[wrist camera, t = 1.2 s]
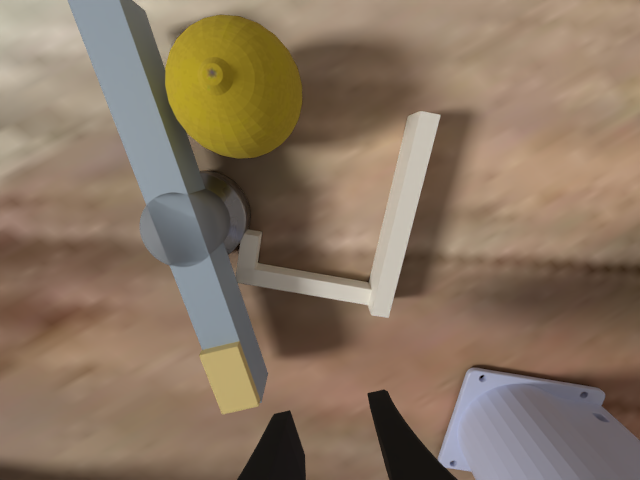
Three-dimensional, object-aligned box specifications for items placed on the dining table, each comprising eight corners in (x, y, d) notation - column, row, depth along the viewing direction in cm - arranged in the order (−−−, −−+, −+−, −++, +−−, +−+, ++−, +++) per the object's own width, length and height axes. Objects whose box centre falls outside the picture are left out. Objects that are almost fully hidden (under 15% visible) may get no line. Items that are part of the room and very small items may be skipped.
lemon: (323, 83, 19) (326, 36, 11) (276, 174, 20) (250, 189, 12) (231, 28, 18) (165, -63, 10) (188, 126, 19) (101, 109, 12)
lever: (161, 5, 16) (126, -27, 13) (280, 370, 21) (274, 406, 18) (89, 27, 16) (39, 0, 13) (223, 383, 21) (208, 420, 18)
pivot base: (256, 179, 20) (250, 182, 18) (244, 260, 21) (238, 270, 20) (169, 163, 20) (155, 164, 18) (162, 246, 21) (149, 254, 19)
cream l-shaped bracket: (425, 119, 19) (440, 114, 17) (380, 299, 22) (388, 317, 20) (265, 87, 19) (257, 78, 16) (239, 275, 21) (229, 291, 19)
